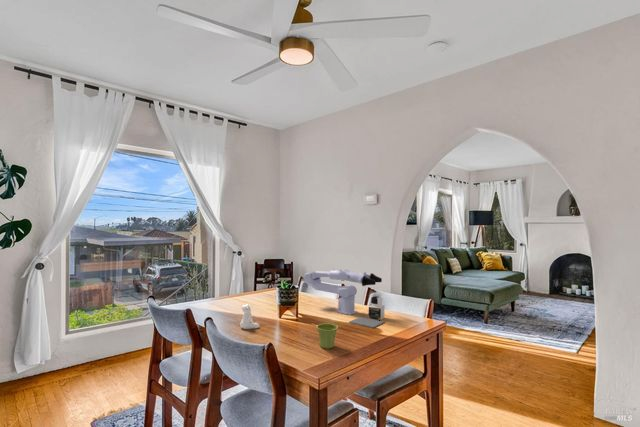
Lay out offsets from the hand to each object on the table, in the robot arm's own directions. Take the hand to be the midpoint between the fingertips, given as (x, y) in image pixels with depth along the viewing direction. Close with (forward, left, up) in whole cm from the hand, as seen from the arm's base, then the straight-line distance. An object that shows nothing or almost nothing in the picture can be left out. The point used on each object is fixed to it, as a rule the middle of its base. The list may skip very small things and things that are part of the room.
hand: (378, 281), depth 197 cm
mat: (-1, -12, -21) cm, 24 cm away
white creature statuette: (-45, -57, -21) cm, 75 cm away
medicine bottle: (-1, -1, -21) cm, 21 cm away
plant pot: (+3, -53, -21) cm, 57 cm away
